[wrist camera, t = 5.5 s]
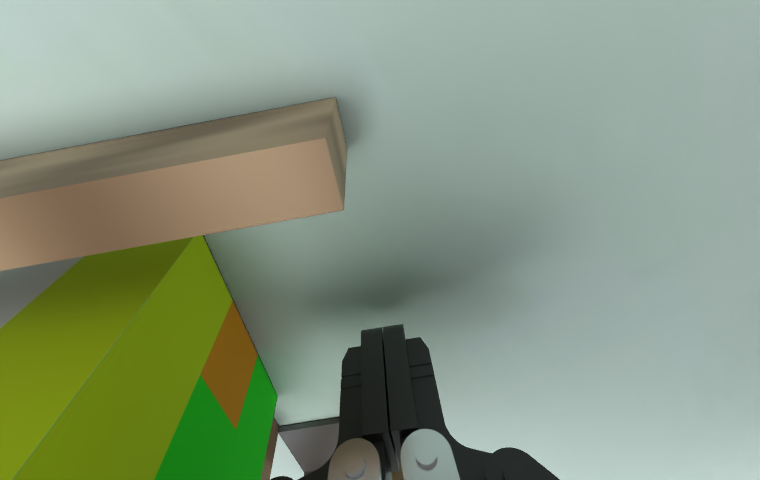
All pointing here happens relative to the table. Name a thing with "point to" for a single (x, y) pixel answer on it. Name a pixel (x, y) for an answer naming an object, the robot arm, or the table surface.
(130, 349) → the puzzle toy
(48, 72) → the table surface
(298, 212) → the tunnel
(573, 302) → the table surface
